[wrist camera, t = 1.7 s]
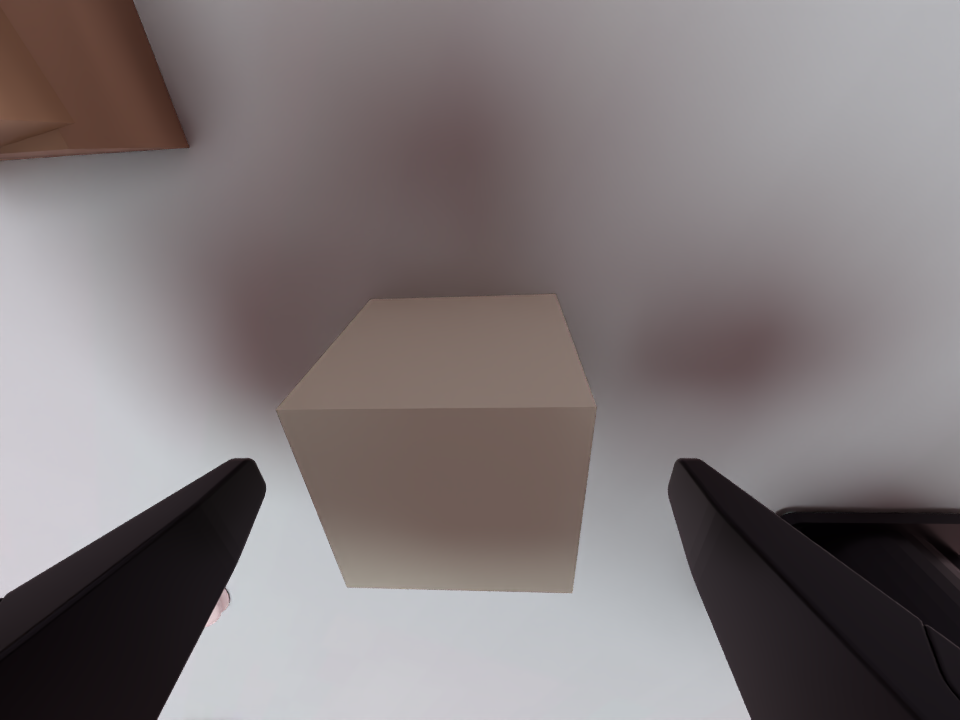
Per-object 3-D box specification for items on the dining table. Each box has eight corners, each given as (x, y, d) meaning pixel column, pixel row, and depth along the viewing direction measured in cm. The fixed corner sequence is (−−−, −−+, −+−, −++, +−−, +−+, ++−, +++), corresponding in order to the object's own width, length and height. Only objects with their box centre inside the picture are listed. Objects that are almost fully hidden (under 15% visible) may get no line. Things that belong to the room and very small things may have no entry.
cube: (555, 292, 10) (596, 406, 6) (547, 436, 12) (572, 593, 8) (371, 298, 10) (274, 409, 6) (400, 436, 13) (347, 587, 8)
